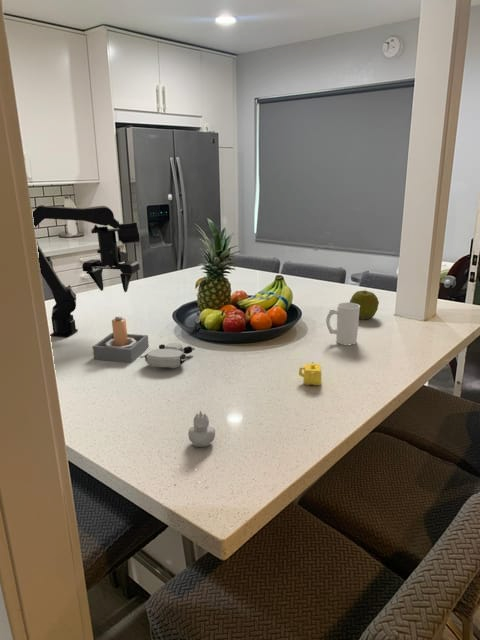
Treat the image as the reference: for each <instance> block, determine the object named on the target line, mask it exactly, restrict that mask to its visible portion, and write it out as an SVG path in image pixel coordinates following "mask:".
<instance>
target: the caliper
mask: <svg viewBox="0 0 480 640" xmlns="http://www.w3.org/2000/svg"><path fill="white" fill-rule="evenodd" d="M200 313H201V311H197V312H196V321H195V322H196V323H199V322H200Z"/></svg>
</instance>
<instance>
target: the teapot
mask: <svg viewBox="0 0 480 640" xmlns="http://www.w3.org/2000/svg"><path fill="white" fill-rule="evenodd" d="M298 369H299V371H298V375H299V376H300V377H302V378H303V383H304V384H303V385H305V384H306V385H305V386H310V385H312V386H313V385H314V386H316V385H319V386H320V385H321V383H322V367H321V363H314V362H311V363H309V362H307V363H306V362H305V365H304V366H299V368H298Z"/></svg>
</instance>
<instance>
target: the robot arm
mask: <svg viewBox="0 0 480 640" xmlns="http://www.w3.org/2000/svg"><path fill="white" fill-rule="evenodd" d="M32 212H33V217H34V225H35V228H37V226H38V225H40V224H41V223H42V221H44V220H47V219H48V220H62V221H63V220H67V221H84V222H88V223H91V224H94V226H93V228H91V230H90V232H91V234H97V239H98V240H97V242H98V247H99V248H98V249H97V251H96V252H97V254H99V255H100V259H89V260H87V261H84V262H83V263H82V265H81V267H82V271H83V272H85V274H88V276H90V278H91V279H92V281H94V283H95V284H96V285H97V287H98V289H99V290H100V291H101V292H103V291H104V281H103V270H119V271H120V272H121V273H120V274H119V276H120V279H121V283H122V289H123V292H124V293H127V292H128V289H129V285H130V281H131V278H132V275H133V274H135V273H137V271H139V270H141V268H140V264H139V262H138V261H131V260H129V253H128V252H126V251H125V252H124V251H121V248H120V246H118V242H121V244H122V245H129V244H139V243H140V242H141V240H140V239H141V237H140V232H139V228H138V224H137V221H132V222H131V221H130V222H128V223H127V222H126V223H120V222H119V220H117V219H116V218H115V215H114V213H113V211H112V210H111V208H110V207H108V206H106V205H99V206H96V205H95V206H91V207H83V208H82V207H70V206H69V207H67V206H53V205H51V206H50V205H48V206H47V205H43V204H40V205H38V206H36V207H35V210H33V211H32ZM98 225H99V226H98ZM108 226H109V227H112V228H109V227H108ZM116 232H117V236H116ZM117 240H118V242H117ZM37 245H38V252H39V261H40V268H41V273H40V274H42V275H41V276H42V278H43V279H44V281H45V282H46V285H48V287H49V289H50V290H51V293H52V297H53V299H54V301H55V304H54V306H53V307H52V309H51V316H50V317H51V324H52V325H51V326H52V331H53V332H52V333H50V336H52V337H63V338H67V337H70V336H72V335H74V334H75V333H76V332H78V328H77V326H76V320H75V319H74V315H73V314H72V313H74V311H75V310H76V309H77V294H76V293H75V292H74V291H73V290H72V287H71V285H70V284H68V286H66V285H65V284H64V283H62V281H61V279H60V278H59V276H58V275H57V273H56V271H55V270H54V268H53V266H52V264H51V263H50V261H49V260H48V259H47V257H46V255H45V253H44V252H43V250H42V249H41V247H40V245H39V243H38V241H37ZM128 260H129V261H128Z"/></svg>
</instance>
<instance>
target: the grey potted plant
mask: <svg viewBox="0 0 480 640" xmlns="http://www.w3.org/2000/svg"><path fill="white" fill-rule="evenodd" d="M209 421H210V420H209V417H208V415H207V414H206V413H202V411H201V410H200V411H199V414H198V413H196V414H195V415H194V418H193V426H192V427H190V428H189V429H188V433H187V435H188V439H189V441H190V442H191V443H192V446H195V447H197V448H204V447H208V446H209V445H211V444H212V442H214V440H215V438H216V430H215V428H214V427H213V426H210V422H209Z"/></svg>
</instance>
